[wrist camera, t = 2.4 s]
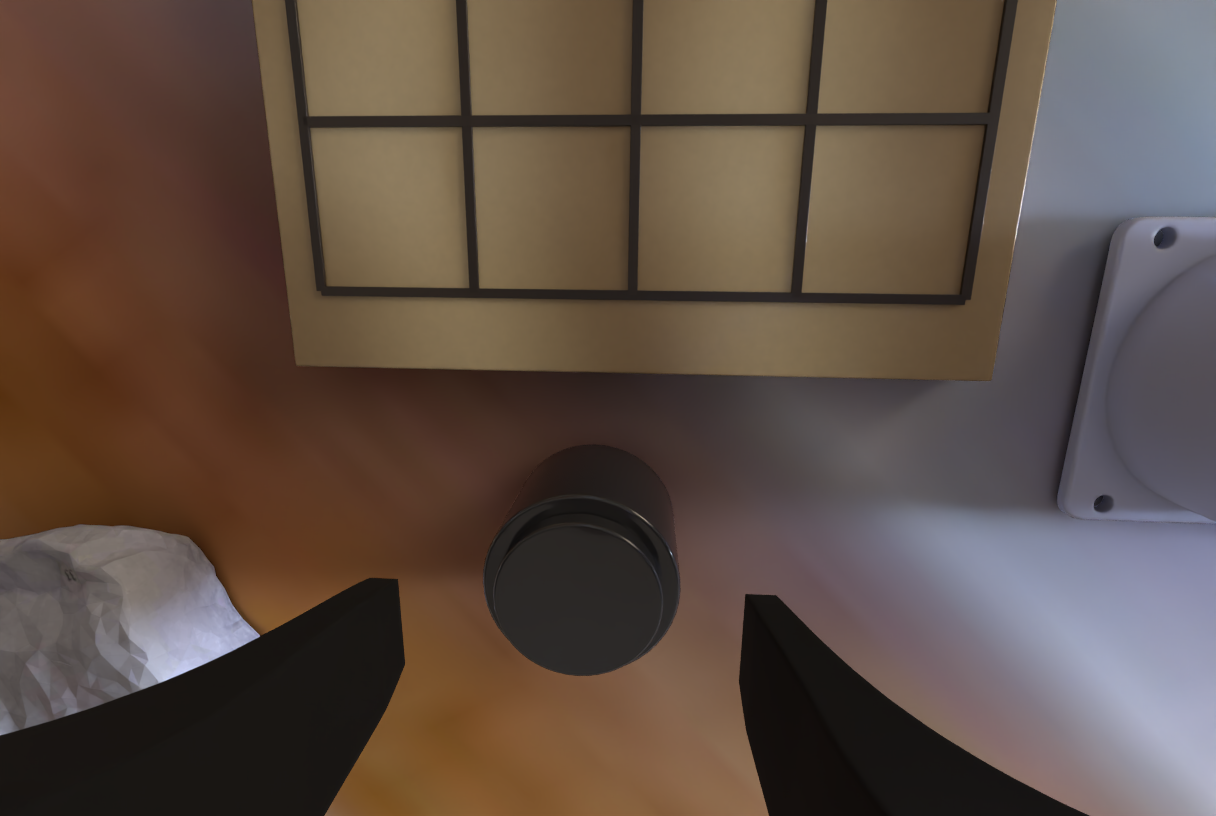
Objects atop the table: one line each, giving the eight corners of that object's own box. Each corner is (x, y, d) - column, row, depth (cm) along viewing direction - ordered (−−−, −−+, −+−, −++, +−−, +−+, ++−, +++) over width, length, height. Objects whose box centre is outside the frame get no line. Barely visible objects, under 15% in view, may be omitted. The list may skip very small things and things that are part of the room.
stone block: (-48, 569, 22) (53, 818, 22) (-249, 621, 17) (-121, 940, 17) (221, 453, 20) (328, 718, 20) (83, 473, 16) (223, 821, 16)
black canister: (675, 439, 17) (686, 510, 12) (669, 581, 18) (677, 697, 13) (519, 435, 17) (469, 502, 12) (523, 575, 18) (479, 686, 14)
